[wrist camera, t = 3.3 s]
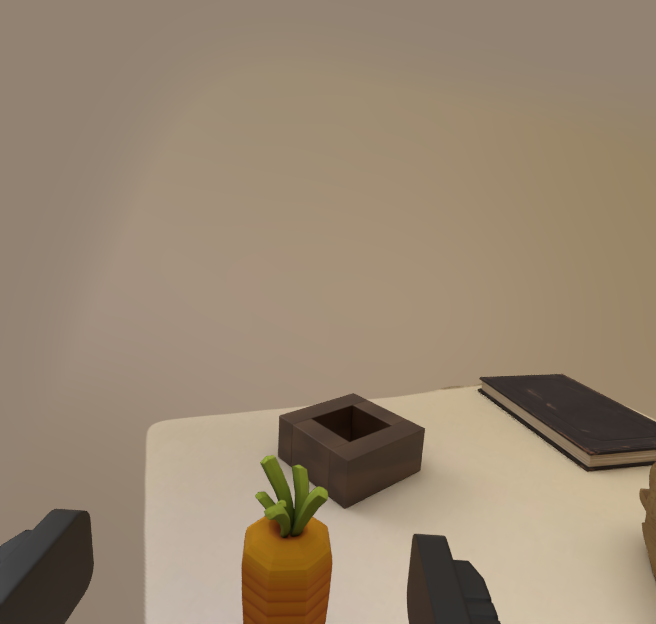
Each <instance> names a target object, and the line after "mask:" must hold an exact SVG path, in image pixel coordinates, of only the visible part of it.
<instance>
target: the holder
mask: <svg viewBox="0 0 656 624" xmlns="http://www.w3.org/2000/svg"><path fill="white" fill-rule="evenodd" d="M424 433H425V428H423V427H421V426H419V425H417V424H415V423H413V422H411V421H409V420H406V419H404V418H402V417H400V416H398V415H396V414H394V413H392V412H390V411H388V410H386V409H384V408H382V407H380V406H378V405H376V404H374V403H372V402H370V401H368V400H366V399H364V398H362V397H360V396H358V395H356V394H350V395H346V396H343V397H340V398H336V399H333V400H330V401H326V402H323V403H320V404H316V405H313V406H310V407H306V408H303V409H300V410H297V411H293V412H290V413H287V414H283V415H280V416H279V443H278V457H280V458H281V459H282V460H283V461H285V462H286V463H287V464H288V465H290V466H291V467H292V466H295V465H301V466H302V467H304V468H306V469H307V474H308V480H309V481H310V482H312V483H313V484H314V485H316V486H317V487H318V486H319V487H322V488H324V489H326V490H327V491H328V496H329V497H331V498H332V499H333V500H334V501H336V502H337V503H338V504H340V505H341V506H342V507H343V508H347V507H349V506H351V505H353V504H355V503H357V502H359V501H361V500H363V499H365V498H367V497H369V496H371V495H372V494H374V493H376V492H378V491H380V490H382V489H384V488H386V487H388V486H390V485H392V484H394V483H396V482H398V481H400V480H402V479H404V478H406V477H408V476H410V475H412V474H414V473H416V472H417V471H419V470H420V469H421V460H422V451H423V442H424Z"/></svg>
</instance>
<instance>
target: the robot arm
mask: <svg viewBox="0 0 656 624" xmlns="http://www.w3.org/2000/svg"><path fill="white" fill-rule="evenodd" d="M93 566H94V561H93V548H92V534H91V522H90V515H89V513H88V512H87V511H81V510H65V509H54V510H52V511H51V512H49V514H47V516H46V517H45V518H44V519H43V520H42V521H41V522H40V523H39V524H38V525H37V526H36V527H35V528H34V529H33V530H25V531H23V532H22V533H20V534H19V535H17V536H15V537H14V538H12V539H10V540H9V541H7V542H6V543H4V544H2V545H1V546H0V624H65V622H66V621H67V619H68V618H69V616H70V615H71V613H72V612H73V610H74V609H75V607H76V606H77V604H78V603H79V601H80V600H81V598H82V597H83V595H84V594H85V592H86V590H87V588H88V586H89V583H90V581H91V577H92V573H93ZM407 610H408V619H409V624H501V623H500V621H498V615H497V613H496V610H495V607H494V605H493V603H492V602H491V597H490V594H489V591H488V589H487V586H486V583H485V581H484V579H483V577H482V576H481V575H480V574H479V573H478V572H477V570H476V569H475V568H474V567H473V566H472V565H471V563H470V562H469V561H462V560H453V558H452V555H451V552H450V548H449V545H448V542H447V539H446V537H445V536H440V535H425V534H414V535H413V539H412V547H411V557H410V566H409V575H408V585H407Z"/></svg>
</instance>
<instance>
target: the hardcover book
mask: <svg viewBox="0 0 656 624" xmlns="http://www.w3.org/2000/svg"><path fill="white" fill-rule="evenodd" d="M480 380H482V388H481V389H478V391H480V392H481V393H482V394H484V395H485V396H486V397H488V398H489V399H490V400H492V401H493V402H494V403H496V404H497V405H498V406H500V407H501V408H503V409H504V410H505V411H507V412H508V413H509V414H511V415H512V416H513V417H515V418H516V419H517V420H519V421H520V422H521V423H523V424H524V425H525V426H527V427H528V428H529V429H531V430H532V431H533V432H535V433H536V434H538V435H539V436H540V437H542V438H543V439H544V440H546V441H547V442H548V443H550V444H551V445H552V446H554V447H555V448H556V449H558V450H559V451H560V452H562V453H563V454H564V455H566V456H567V457H569V458H570V459H571V460H573V461H574V462H575V463H577V464H578V465H579V466H581V467H582V468H583V469H585V470H586V471H592V470H603V469H613V468H623V467H633V466H644V465H653V464H654V463H655V462H656V422H655V421H653V420H651V419H649V418H647V417H645V416H643V415H641V414H639V413H637V412H635V411H633V410H631V409H629V408H627V407H626V406H624V405H622V404H620V403H618V402H616V401H614V400H612V399H610V398H608V397H606V396H604V395H602V394H600V393H598V392H596V391H594V390H592V389H590V388H589V387H587V386H585V385H583V384H581V383H579V382H577V381H575V380H573V379H571V378H569V377H567V376H565V375H563V374H554V375H553V374H552V375H526V376H500V377H480Z"/></svg>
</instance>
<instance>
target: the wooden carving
mask: <svg viewBox="0 0 656 624" xmlns="http://www.w3.org/2000/svg"><path fill="white" fill-rule="evenodd" d="M649 487H650V489H640V493H639V494H640V500H641V503H642V505H643V507H644V508H645V510H646V519H645V523H642V530H643V535H644V540H645V543H646V547H647V550H648V554H649V559H650V562H651V566H652V569H653V573H654V576H655V579H656V462H655V463H654V464H653V465H652V467H651V470H650V475H649Z"/></svg>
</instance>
